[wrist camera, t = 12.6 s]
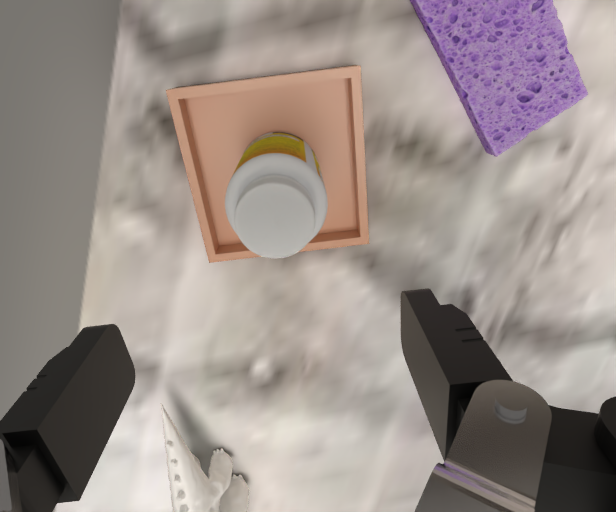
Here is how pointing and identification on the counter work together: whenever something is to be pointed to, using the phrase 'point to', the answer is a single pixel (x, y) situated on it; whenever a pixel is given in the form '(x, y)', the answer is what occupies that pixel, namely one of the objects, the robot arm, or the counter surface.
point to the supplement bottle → (276, 196)
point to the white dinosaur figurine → (201, 478)
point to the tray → (272, 118)
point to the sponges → (504, 63)
